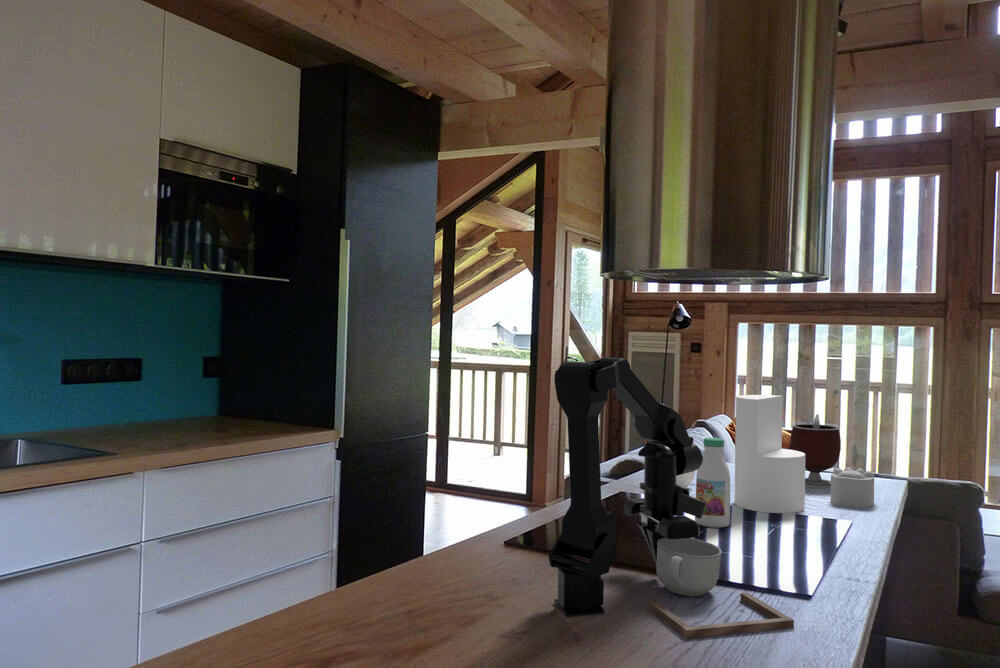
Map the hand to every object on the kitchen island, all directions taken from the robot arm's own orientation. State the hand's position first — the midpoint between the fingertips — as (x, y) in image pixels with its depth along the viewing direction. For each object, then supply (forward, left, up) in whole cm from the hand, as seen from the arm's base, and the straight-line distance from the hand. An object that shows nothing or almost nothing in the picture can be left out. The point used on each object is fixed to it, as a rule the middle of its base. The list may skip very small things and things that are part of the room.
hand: (659, 564), depth 143 cm
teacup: (0, -9, -2) cm, 10 cm away
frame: (0, -21, -2) cm, 21 cm away
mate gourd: (+86, +71, -2) cm, 111 cm away
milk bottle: (+30, +33, -2) cm, 44 cm away
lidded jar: (+42, +74, -2) cm, 85 cm away
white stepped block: (+55, +48, -2) cm, 73 cm away
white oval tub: (+80, +47, -3) cm, 93 cm away
